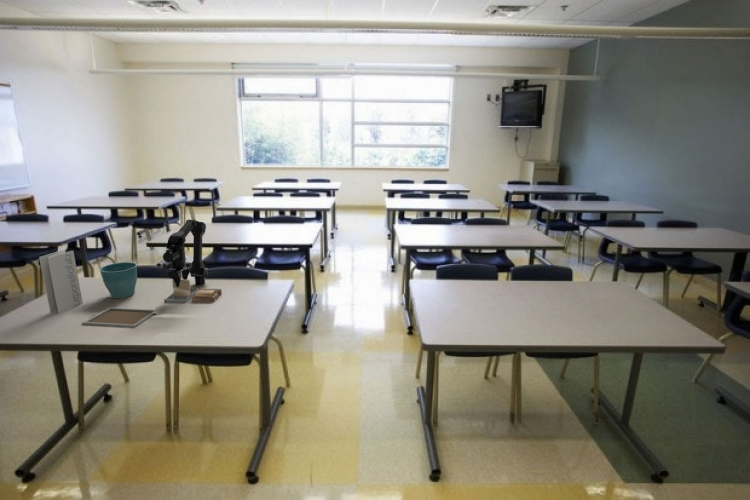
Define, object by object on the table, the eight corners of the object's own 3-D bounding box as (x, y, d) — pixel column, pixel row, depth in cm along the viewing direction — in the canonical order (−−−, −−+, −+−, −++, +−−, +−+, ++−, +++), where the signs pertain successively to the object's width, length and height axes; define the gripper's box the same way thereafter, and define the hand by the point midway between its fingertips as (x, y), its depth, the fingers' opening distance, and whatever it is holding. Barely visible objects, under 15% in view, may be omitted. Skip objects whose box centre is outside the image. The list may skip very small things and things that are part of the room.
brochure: (59, 314, 217) (48, 257, 209) (50, 313, 218) (38, 257, 210) (82, 303, 231) (73, 250, 223) (74, 302, 232) (64, 249, 224)
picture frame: (134, 325, 203) (76, 322, 206) (135, 328, 203) (77, 325, 206) (158, 309, 221) (104, 307, 224) (158, 312, 222) (105, 309, 225)
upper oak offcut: (198, 294, 237) (198, 290, 236) (214, 294, 237) (214, 290, 236) (195, 296, 233) (195, 292, 232) (211, 296, 233) (211, 293, 232)
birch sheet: (175, 296, 240) (173, 279, 238) (191, 296, 240) (189, 279, 238) (174, 297, 239) (172, 280, 236) (190, 297, 239) (188, 280, 236)
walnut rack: (201, 295, 244) (200, 288, 243) (221, 296, 244) (221, 288, 243) (192, 303, 232) (191, 296, 231) (214, 304, 232) (213, 296, 231)
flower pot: (107, 303, 231) (102, 273, 227) (101, 294, 245) (96, 266, 240) (144, 295, 243) (140, 267, 239) (136, 287, 256) (132, 260, 252)
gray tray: (180, 292, 249) (179, 287, 248) (200, 292, 249) (199, 287, 248) (164, 304, 231) (164, 299, 230) (186, 304, 231) (185, 299, 230)
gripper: (171, 252, 243) (174, 278, 247) (155, 262, 225) (159, 289, 229) (191, 252, 243) (193, 278, 247) (176, 262, 225) (179, 290, 229)
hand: (181, 284), depth 238 cm, fingers open, 9 cm apart
